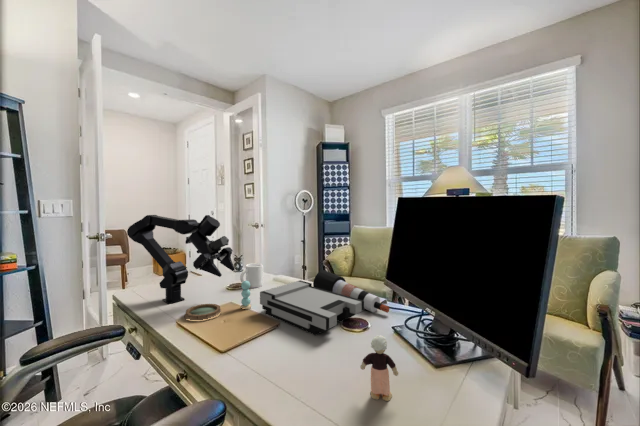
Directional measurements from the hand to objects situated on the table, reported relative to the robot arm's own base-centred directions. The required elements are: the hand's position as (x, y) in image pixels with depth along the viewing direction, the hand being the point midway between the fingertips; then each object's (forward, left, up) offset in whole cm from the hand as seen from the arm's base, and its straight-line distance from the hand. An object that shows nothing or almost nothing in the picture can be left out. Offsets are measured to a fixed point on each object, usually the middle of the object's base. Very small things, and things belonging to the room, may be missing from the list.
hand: (227, 273), depth 108 cm
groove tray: (+1, -10, -13) cm, 17 cm away
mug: (-15, +22, -13) cm, 29 cm away
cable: (+35, +34, -14) cm, 51 cm away
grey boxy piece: (+31, +15, -14) cm, 37 cm away
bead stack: (+7, +4, -13) cm, 15 cm away
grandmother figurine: (+70, -6, -13) cm, 71 cm away
